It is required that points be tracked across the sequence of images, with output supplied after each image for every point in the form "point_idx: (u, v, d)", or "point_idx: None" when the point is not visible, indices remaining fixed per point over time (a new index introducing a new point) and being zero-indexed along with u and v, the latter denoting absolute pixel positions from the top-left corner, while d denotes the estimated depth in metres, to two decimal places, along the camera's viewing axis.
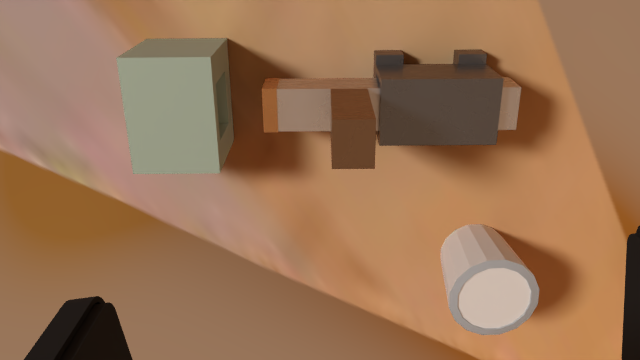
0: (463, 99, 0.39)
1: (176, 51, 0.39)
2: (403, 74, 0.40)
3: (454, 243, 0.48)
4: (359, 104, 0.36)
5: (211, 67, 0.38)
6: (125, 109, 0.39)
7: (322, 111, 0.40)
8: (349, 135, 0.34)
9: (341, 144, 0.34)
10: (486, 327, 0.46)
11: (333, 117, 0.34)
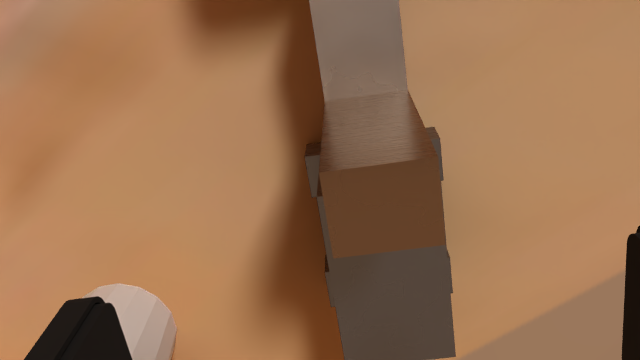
0: (416, 310, 0.24)
1: None
2: None
3: (139, 311, 0.29)
4: None
5: None
6: None
7: (361, 81, 0.21)
8: (403, 197, 0.15)
9: (380, 183, 0.15)
10: None
11: None
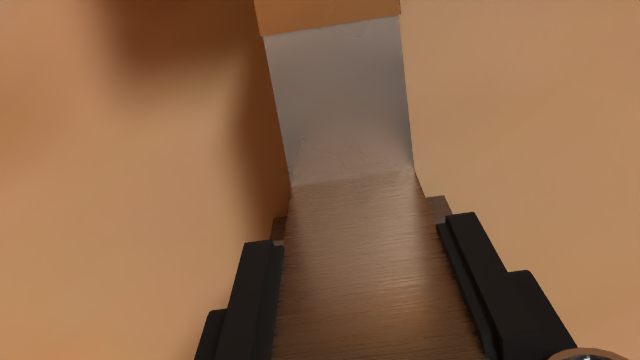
0: None
1: None
2: None
3: None
4: None
5: None
6: None
7: (345, 157, 0.14)
8: None
9: None
10: None
11: None
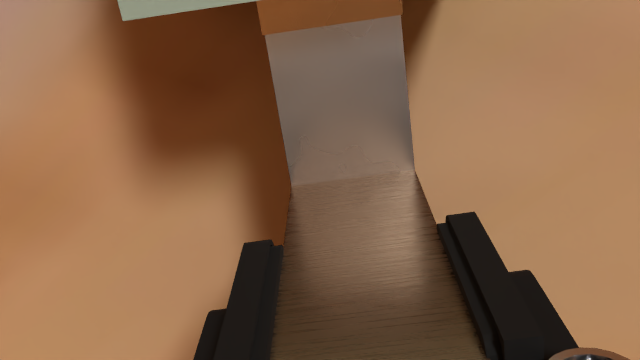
0: None
1: None
2: None
3: None
4: None
5: None
6: None
7: (346, 157, 0.14)
8: None
9: None
10: None
11: None
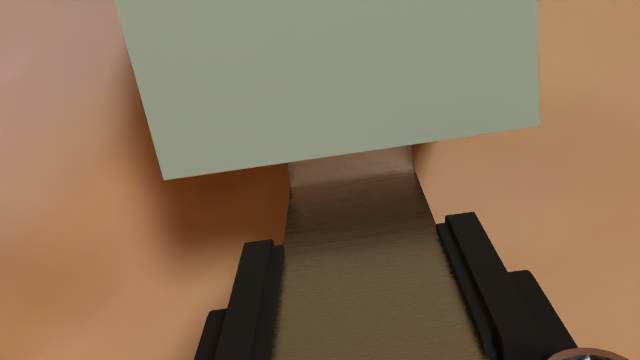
0: None
1: None
2: None
3: None
4: None
5: (503, 127, 0.12)
6: None
7: (345, 158, 0.14)
8: None
9: None
10: None
11: None
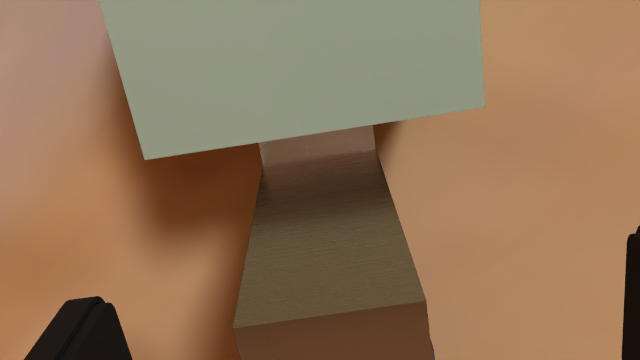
0: None
1: None
2: None
3: None
4: None
5: None
6: None
7: (312, 139, 0.15)
8: None
9: (333, 342, 0.09)
10: None
11: None
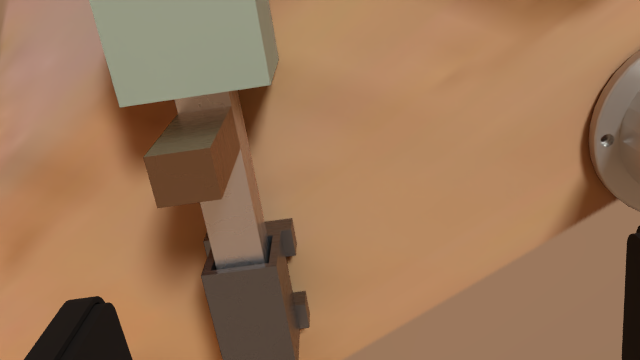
0: (269, 343, 0.37)
1: (264, 28, 0.31)
2: (282, 276, 0.37)
3: None
4: (228, 159, 0.29)
5: (257, 85, 0.31)
6: None
7: (200, 100, 0.32)
8: (193, 171, 0.26)
9: (179, 163, 0.26)
10: None
11: (211, 146, 0.26)
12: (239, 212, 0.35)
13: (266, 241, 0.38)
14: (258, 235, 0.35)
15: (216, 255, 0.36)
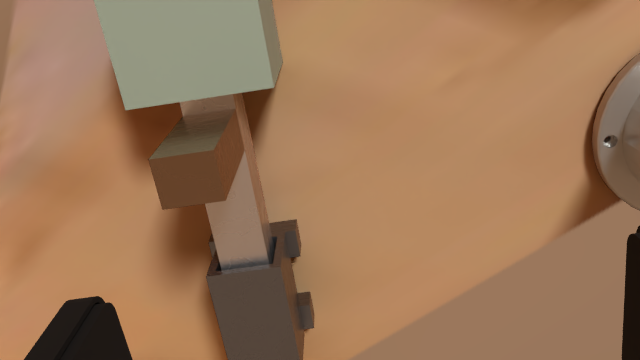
0: (274, 343, 0.38)
1: (267, 31, 0.32)
2: (286, 277, 0.37)
3: None
4: (232, 161, 0.30)
5: (261, 88, 0.31)
6: None
7: (205, 103, 0.33)
8: (197, 173, 0.27)
9: (183, 165, 0.26)
10: None
11: (215, 148, 0.27)
12: (244, 213, 0.35)
13: (270, 242, 0.38)
14: (262, 236, 0.36)
15: (221, 256, 0.36)
